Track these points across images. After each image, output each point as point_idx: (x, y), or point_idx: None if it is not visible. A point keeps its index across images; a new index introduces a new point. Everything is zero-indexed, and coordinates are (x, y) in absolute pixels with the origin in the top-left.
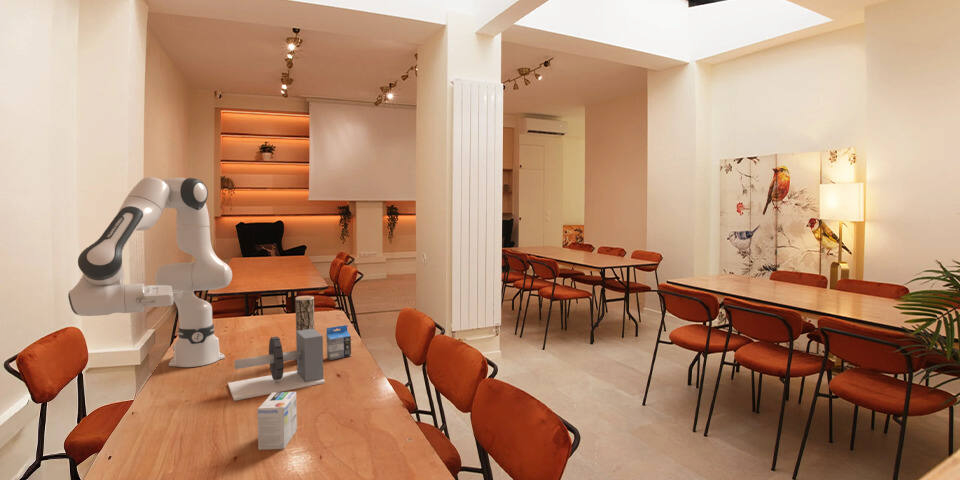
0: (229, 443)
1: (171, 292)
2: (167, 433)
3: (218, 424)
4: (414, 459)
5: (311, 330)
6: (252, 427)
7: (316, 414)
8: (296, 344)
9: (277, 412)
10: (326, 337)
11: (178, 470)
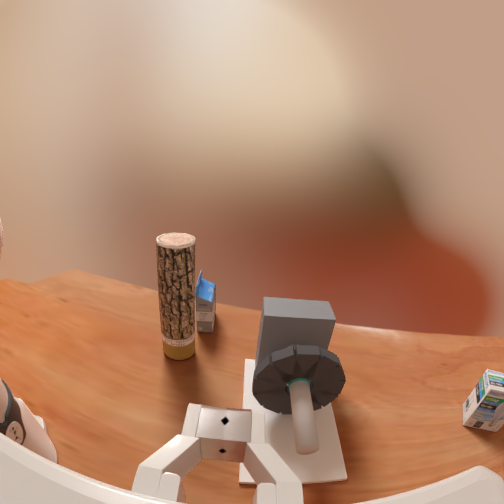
0: (485, 460)
1: (425, 492)
2: None
3: None
4: (497, 343)
5: (277, 301)
6: (452, 446)
7: (427, 388)
8: (172, 336)
9: None
10: (196, 301)
11: None
